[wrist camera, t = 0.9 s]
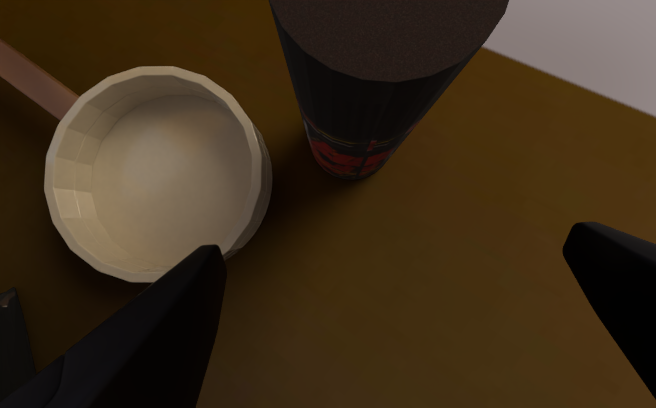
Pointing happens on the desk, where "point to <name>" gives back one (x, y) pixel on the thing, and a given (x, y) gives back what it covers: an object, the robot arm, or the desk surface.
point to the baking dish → (13, 346)
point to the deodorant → (374, 69)
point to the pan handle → (35, 82)
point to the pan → (155, 172)
